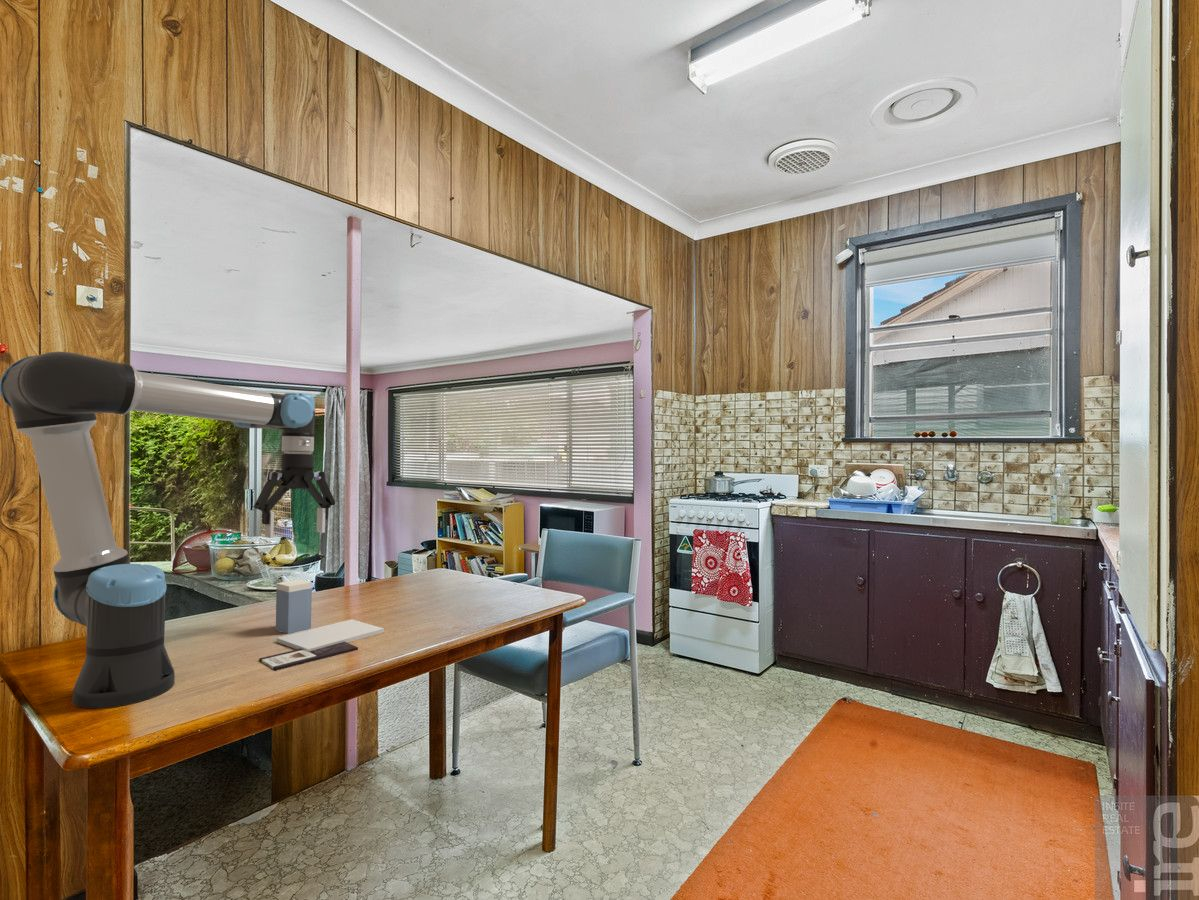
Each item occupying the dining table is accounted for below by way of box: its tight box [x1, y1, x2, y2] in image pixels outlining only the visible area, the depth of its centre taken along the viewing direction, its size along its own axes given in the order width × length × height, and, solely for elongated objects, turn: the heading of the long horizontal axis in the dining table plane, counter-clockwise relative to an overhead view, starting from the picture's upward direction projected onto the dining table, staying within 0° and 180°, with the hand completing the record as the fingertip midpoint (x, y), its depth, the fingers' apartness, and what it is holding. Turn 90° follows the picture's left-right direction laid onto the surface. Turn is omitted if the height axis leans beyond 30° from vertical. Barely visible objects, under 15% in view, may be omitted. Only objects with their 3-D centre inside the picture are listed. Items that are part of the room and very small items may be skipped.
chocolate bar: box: [258, 642, 359, 672], centre depth 135 cm, size 9×1×18 cm
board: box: [275, 618, 385, 652], centre depth 148 cm, size 20×14×1 cm
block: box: [275, 579, 313, 635], centre depth 154 cm, size 6×6×12 cm
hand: (295, 534), depth 154 cm, fingers open, 13 cm apart
